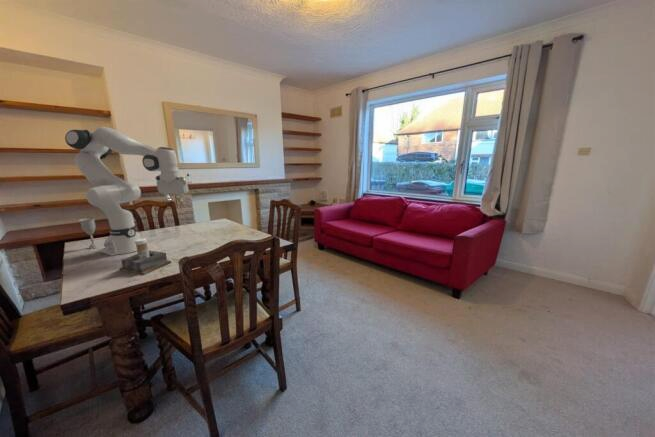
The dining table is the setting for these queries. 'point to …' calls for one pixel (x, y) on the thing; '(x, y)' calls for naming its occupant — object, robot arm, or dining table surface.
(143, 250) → the sprinkles bottle
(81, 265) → the dining table surface
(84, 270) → the dining table surface
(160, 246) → the dining table surface
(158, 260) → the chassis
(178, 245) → the dining table surface
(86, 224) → the chalice
